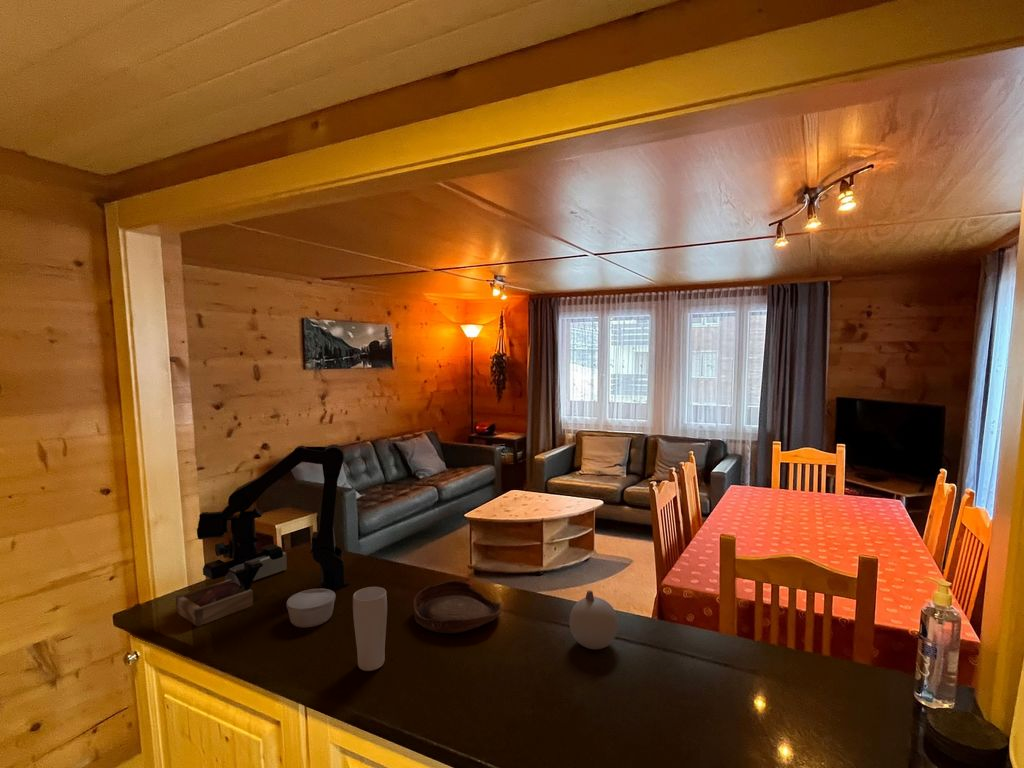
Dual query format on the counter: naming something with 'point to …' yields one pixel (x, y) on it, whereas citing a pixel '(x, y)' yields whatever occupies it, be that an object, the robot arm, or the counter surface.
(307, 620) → the ramekin
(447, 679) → the counter surface
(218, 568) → the robot arm
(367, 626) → the drinking glass
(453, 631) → the dark brown shallow dish
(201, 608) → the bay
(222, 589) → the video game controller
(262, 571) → the gate
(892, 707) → the counter surface
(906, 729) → the counter surface
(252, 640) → the counter surface
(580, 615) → the ornament
